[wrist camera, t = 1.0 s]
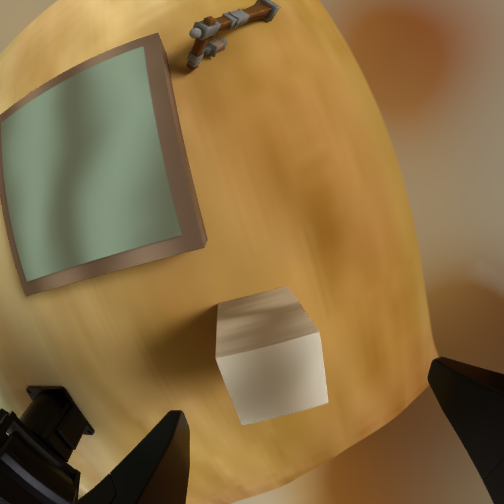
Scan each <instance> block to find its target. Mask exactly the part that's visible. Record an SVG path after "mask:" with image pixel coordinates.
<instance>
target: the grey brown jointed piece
mask: <svg viewBox="0 0 504 504" xmlns="http://www.w3.org/2000/svg"><path fill="white" fill-rule="evenodd" d="M279 8H280V6H278V5H277V4H275V3H274V2H272V1H270V0H257V1H256V3H255V5H253V6H251V7H249V8H247V9H244V10H240V9H238V10H236V11H233V12H228V13H225V14H224V13H223V15H222V16H221V17H218V18H213V17H211V16H209V17H207V18H204V20H203V21H200V22H195V23H194V26H193V29H191V31H190V33H189V35H190V36H191V37H192V38H196V40H195V43H194V46H193V49H192V51H191V52H190V53H189V56H188V62H187V65H186V66H187V67H188V68H190V69H191V70H194V69H196V68H198V65H199V64H200V61H202V58H203V55H204V54H205V55H207V56H208V54H210V55H211V56H213V57H215V55H216V53H217V52H219V51H222V50H224V49H225V46H226V44H227V40H226V39H224V38H223V39H222V38H220V37H218V36H217V38H216V39H214V40H212V41H211V39H212V38H213V37H214V36H215V35H216V34H217V33H218V31H221V30H224V29H228V30H231V29H233V28H236V27H238V26H240V25H245V23H246V22H247V21H250V20H256V19H261V18H262V19H263V20H265V21H266V22H269V21H272V19H273V17H274V16H275V14H276V13H277V11H278V10H279Z"/></svg>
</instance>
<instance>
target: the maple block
mask: <svg viewBox="0 0 504 504" xmlns="http://www.w3.org/2000/svg"><path fill="white" fill-rule="evenodd" d="M216 361H217V364H218V367H219V369H220V372H221V375H222V377H223V380H224V382H225V385H226V387H227V390H228V393H229V395H230V398H231V400H232V402H233V405H234V407H235V410H236V412H237V415H238V417H239V419H240V422H241V424H242V425H246V424H251V423H256V422H261V421H265V420H269V419H274V418H278V417H281V416H285V415H289V414H293V413H296V412H300V411H303V410H307V409H310V408H313V407H316V406H319V405H323V404H326V403H328V395H327V386H326V378H325V370H324V362H323V354H322V347H321V339H320V332H319V330H318V329H317V327H316V326H315V324H314V323H313V322H312V320H311V319H310V317H309V316H308V314H307V313H306V311H305V310H304V308H303V307H302V306H301V304H300V303H299V301H298V300H297V298H296V297H295V295H294V294H293V293H292V291H291V290H290V288H289V287H288V286H285V287H281V288H277V289H274V290H270V291H266V292H262V293H258V294H254V295H250V296H246V297H242V298H238V299H234V300H230V301H226V302H222V303H218V313H217V333H216Z"/></svg>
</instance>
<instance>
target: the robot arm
mask: <svg viewBox="0 0 504 504" xmlns="http://www.w3.org/2000/svg"><path fill="white" fill-rule="evenodd" d="M428 382H429V384H430V386H431V388H432V390H433V392H434V394H435V396H436V398H437V400H438V402H439V404H440V406H441V408H442V410H443V412H444V413H445V415H446V417H447V418H448V420H449V422H450V423H451V425H452V427H453V428H454V430H455V432H456V433H457V435H458V437H459V438H460V440H461V442H462V443H463V445H464V447H465V448H466V450H467V452H468V454H469V456H470V458H471V459H472V461H473V463H474V465H475V467H476V468H477V470H478V472H479V474H480V476H481V478H482V480H483V482H484V484H485V486H486V488H487V490H488V492H489V494H490V496H491V499H492V501H493V503H494V504H504V374H501V373H497V372H494V371H490V370H487V369H483V368H480V367H476V366H472V365H469V364H466V363H462V362H459V361H455V360H452V359H449V358H446V357H438V358H436V359H434V360H433V361H432V363H431V366H430V370H429V373H428ZM26 391H27V393H28V394H29V396H30V397H31V399H32V400H33V401H32V403H31V404H30V405H29V407H28V408H27V409H26V411H25V412H24V413H23V415H22V416H21V418H20V419H19V418H18V417H17V416H16V414H15V413H14V412H13V411H11V412H10V413H8V412H7V411H5V410H4V409H0V504H185V503H186V495H187V487H188V479H189V469H190V430H189V425H188V423H187V420H186V418H185V415H184V413H183V411H181V410H171V411H169V412H168V413H167V414H166V415H165V416H164V417H163V418H162V420H161V421H160V422H159V423H158V424H157V425H156V426H155V427H154V428H153V429H152V430H151V431H150V432H149V433H148V434H147V436H146V437H145V438H144V439H143V440H142V441H141V442H140V443H139V444H138V445H137V446H136V447H135V448H134V449H133V450H132V451H131V452H130V453H129V454H128V455H127V456H126V457H125V458H124V459H123V460H122V461H121V462H120V463H119V464H118V465H117V466H116V467H115V468H114V469H113V470H112V471H111V472H110V474H108V475H107V476H106V477H105V478H104V479H103V480H102V481H101V482H100V483H99V484H97V485H96V486H95V487H94V488H93V489H92V490H90V491H89V492H88V493H87V494H85V495H84V496H83V497H81V498H80V499H78V491H79V482H80V474H81V473H80V472H79V471H78V470H77V469H74V468H73V467H72V466H70V465H69V464H68V463H66V462H68V460H69V458H70V456H71V454H72V452H73V450H75V449H76V447H77V445H78V443H79V441H80V439H81V437H82V435H83V434H85V435H93V434H94V429H93V428H92V427H91V425H90V424H89V423H88V421H87V420H86V419H85V417H84V416H83V415H82V413H81V412H80V410H79V409H78V407H77V406H76V404H75V403H74V401H73V400H72V398H71V397H70V395H69V394H68V392H67V391H66V389H65V388H63V387H32V386H29V387H27V389H26ZM6 432H7V433H8V434H9V436H8V435H7V434H6Z"/></svg>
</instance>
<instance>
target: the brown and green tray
mask: <svg viewBox="0 0 504 504" xmlns="http://www.w3.org/2000/svg"><path fill="white" fill-rule="evenodd" d="M0 196H1V203H2V209H3V215H4V220H5V225H6V230H7V234H8V239H9V243H10V247H11V251H12V254H13V258H14V262H15V265H16V268H17V272H18V275H19V278H20V281H21V284H22V287H23V290H24V293H25V295H26V296H29V295H32V294H36V293H39V292H43V291H46V290H50V289H53V288H57V287H60V286H64V285H67V284H71V283H74V282H78V281H82V280H85V279H89V278H92V277H96V276H100V275H103V274H107V273H111V272H114V271H118V270H122V269H125V268H129V267H133V266H136V265H140V264H144V263H148V262H151V261H155V260H159V259H163V258H167V257H170V256H174V255H178V254H182V253H186V252H190V251H194V250H197V249H201V248H204V247H205V244H206V242H207V235H206V232H205V228H204V224H203V220H202V216H201V212H200V208H199V204H198V200H197V196H196V192H195V188H194V184H193V180H192V175H191V171H190V167H189V162H188V158H187V154H186V149H185V145H184V140H183V136H182V131H181V126H180V122H179V117H178V112H177V107H176V102H175V97H174V92H173V87H172V82H171V77H170V71H169V66H168V60H167V55H166V51H165V49H164V46H163V44H162V41H161V39H160V36H159V34H158V33H155V34H152V35H149V36H146V37H143V38H140V39H137V40H134V41H131V42H129V43H126V44H123V45H121V46H118V47H116V48H113V49H111V50H109V51H106V52H104V53H102V54H99V55H97V56H95V57H93V58H91V59H89V60H87V61H85V62H83V63H81V64H79V65H77V66H75V67H73V68H71V69H69V70H67V71H65V72H63V73H62V74H60V75H58V76H56V77H55V78H53V79H51V80H50V81H48V82H46V83H45V84H43V85H42V86H40V87H38V88H37V89H35V90H34V91H32V92H31V93H29V94H28V95H26V96H25V97H24V98H22V99H21V100H19V101H18V102H17V103H15V104H14V105H12V106H11V107H10V108H9V109H7V110H6V111H5V112H3V113H2V114H1V115H0Z"/></svg>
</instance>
